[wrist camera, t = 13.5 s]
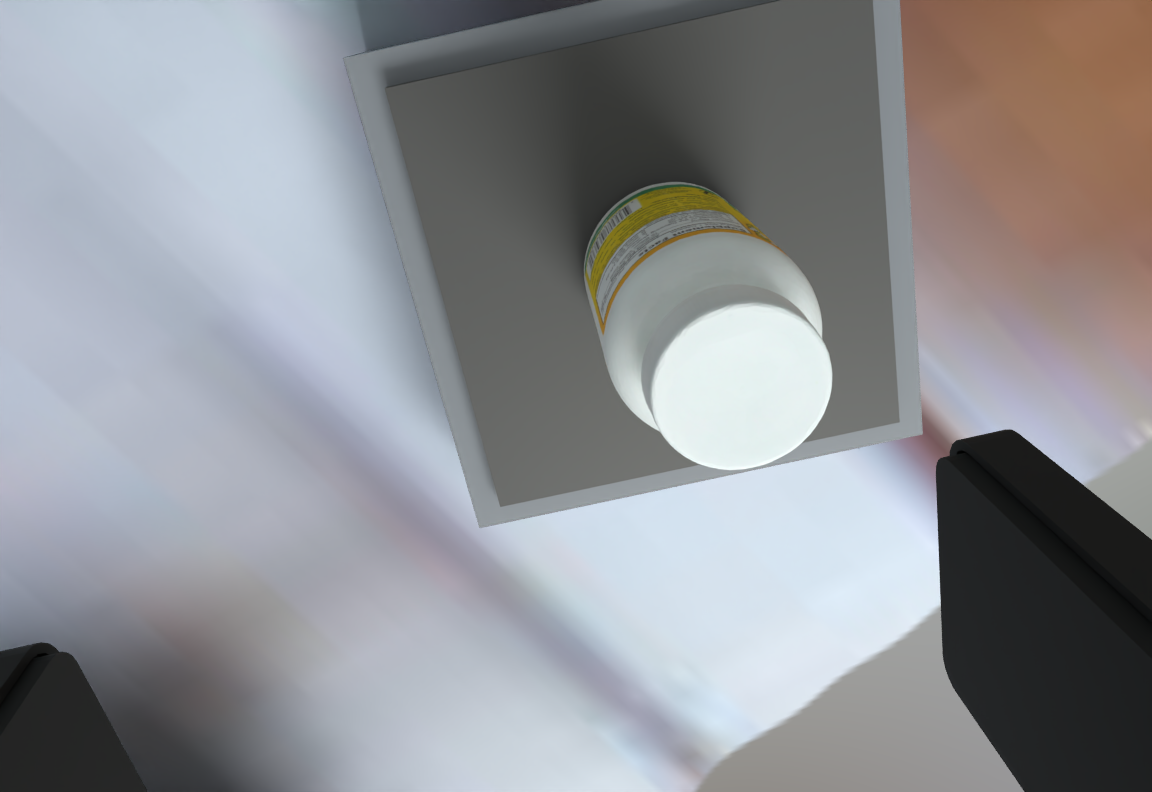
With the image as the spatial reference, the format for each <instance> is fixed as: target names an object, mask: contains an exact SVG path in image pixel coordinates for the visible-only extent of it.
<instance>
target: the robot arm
mask: <svg viewBox="0 0 1152 792" xmlns="http://www.w3.org/2000/svg"><path fill="white" fill-rule="evenodd" d="M936 487H937V513H938V540H939V567H940V594H941V620H942V646H943V660H944V664H945V668H946V672H947V674H948V677H949V679H950V681H951V684H952V686H953V688H954V689H955V691H956V693H957V694H958V696H959V697H960V698H961V700H962V701H963V703H964V704H965V705H966V707H967V708H968V710H969V712H970V713H971V714H972V716H973V717H974V719H975V720H976V722H977V723H978V725H979V726H980V728H981V729H982V730H983V732H984V733H985V735H986V736H987V738H988V739H989V741H990V742H991V744H992V745H993V746H994V748H995V749H996V751H997V752H998V754H999V755H1000V757H1001V758H1002V759H1003V761H1004V762H1005V764H1006V765H1007V767H1008V768H1009V770H1010V771H1011V772H1012V774H1013V775H1014V777H1015V778H1016V780H1017V781H1018V783H1019V784H1020V786H1021V787H1022V788H1023V790H1024V792H1152V540H1151V539H1150V538H1149V537H1147V536H1146V535H1145V534H1144V533H1143V532H1141V531H1140V530H1139V529H1138V528H1136V527H1135V526H1134V525H1133V524H1131V523H1130V522H1129V521H1127V520H1126V519H1125V518H1124V517H1123V516H1121V515H1120V514H1119V513H1117V512H1116V511H1115V510H1114V509H1112V508H1111V507H1110V506H1109V505H1107V504H1106V503H1105V502H1104V501H1102V500H1101V499H1100V498H1099V497H1097V496H1096V495H1095V494H1094V493H1092V492H1091V491H1090V490H1089V489H1087V488H1086V487H1085V486H1084V485H1082V484H1081V483H1080V482H1079V481H1077V480H1076V479H1075V478H1074V477H1072V476H1071V475H1070V474H1069V473H1067V472H1066V471H1065V470H1064V469H1062V468H1061V467H1060V466H1059V465H1057V464H1056V463H1055V462H1054V461H1052V460H1051V459H1050V458H1049V457H1047V456H1046V455H1045V454H1044V453H1042V452H1041V451H1040V450H1039V449H1037V448H1036V447H1035V446H1033V445H1032V444H1031V443H1030V442H1028V441H1027V440H1026V439H1025V438H1023V437H1022V436H1021V435H1020V434H1018V433H1017V432H1015V431H1013V430H1002V431H997V432H993V433H988V434H984V435H979V436H975V437H970V438H966V439H961V440H956V441H955V442H954V443H953V444H952V447H951V450H950V456H947V457H943V458H940V459H939V460H938V462H937V465H936ZM0 792H147V790H146V788H145V786H144V785H143V783H142V781H141V779H140V777H139V775H138V774H137V772H136V770H135V768H134V766H133V764H132V762H131V761H130V759H129V757H128V755H127V753H126V751H125V750H124V748H123V746H122V744H121V742H120V740H119V738H118V737H117V735H116V733H115V731H114V729H113V727H112V726H111V724H110V722H109V720H108V718H107V716H106V714H105V713H104V711H103V709H102V707H101V705H100V703H99V702H98V700H97V698H96V696H95V694H94V692H93V690H92V689H91V687H90V685H89V683H88V681H87V679H86V678H85V676H84V674H83V672H82V670H81V668H80V666H79V665H78V663H77V661H76V660H75V659H74V657H73V656H72V655H70V654H69V653H66V652H58V650H57V649H56V648H55V647H53V646H52V645H50V644H48V643H42V642H41V643H36V644H32V645H27V646H23V647H18V648H14V649H9V650H5V651H0Z"/></svg>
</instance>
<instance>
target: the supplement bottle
mask: <svg viewBox="0 0 1152 792" xmlns="http://www.w3.org/2000/svg"><path fill="white" fill-rule="evenodd" d="M584 281H585V287H586V292H587V295H588V299H589V303H590V306H591V310H592V313H593V317H594V320H595V324H596V328H597V331H598V334H599V338H600V342H601V346H602V349H603V353H604V358H605V362H606V365H607V369H608V372H609V375H610V377H611V380H612V382H613V385H614V387H615V389H616V390H617V392H618V394H619V395H620V397H621V399H622V400H623V401H624V403H625V404H626V405H627V406H628V407H629V409H630V410H631V411H632V412H633V413H634V414H635V415H636V416H637V417H639V418H640V419H641V420H642V421H643V422H645V423H646V424H648V425H649V426H651V427H652V428H654V429H656V430H658V431H660V432H661V434H662V436H663V437H664V438H665V439H666V440H667V442H668V443H669V444H670V445H671V446H672V447H673V448H674V449H675V450H676V451H678V452H679V453H680V454H682V455H683V456H684V457H686V458H688V459H690V460H692V461H693V462H696V463H698V464H701V465H704V466H707V467H711V468H717V469H724V470H740V469H748V468H753V467H757V466H761V465H764V464H767V463H770V462H772V461H774V460H776V459H778V458H780V457H782V456H784V455H786V454H788V453H789V452H791V451H792V450H794V449H795V448H796V447H798V446H799V445H800V444H801V443H802V442H803V441H804V440H805V439H806V438H807V437H808V436H809V435H810V434H811V433H812V431H813V430H814V429H815V427H816V426H817V424H818V423H819V421H820V420H821V418H822V416H823V414H824V412H825V410H826V407H827V404H828V401H829V398H830V394H831V389H832V366H831V361H830V356H829V352H828V350H827V348H826V345H825V343H824V342H823V340H822V319H821V312H820V308H819V304H818V301H817V298H816V296H815V293H814V291H813V288H812V287H811V285H810V283H809V282H808V280H807V278H806V277H805V275H804V274H803V273H802V271H801V270H800V269H799V267H798V266H797V265H796V264H795V263H794V262H793V261H792V260H791V259H790V258H789V257H788V256H787V255H786V254H785V253H784V252H783V251H782V250H781V249H780V248H779V247H778V246H777V245H775V244H774V243H773V242H772V241H771V240H770V239H769V238H768V237H766V236H765V235H764V234H763V233H762V232H761V231H760V230H759V229H758V228H757V227H756V226H755V225H753V224H752V223H751V222H750V221H749V220H748V219H747V218H746V217H745V216H744V215H742V214H741V213H740V212H739V211H738V210H737V209H736V208H735V207H734V206H732V205H731V204H729V203H728V202H727V201H726V200H725V199H723V198H722V197H721V196H719V195H718V194H717V193H715V192H713V191H711V190H709V189H707V188H705V187H702V186H699V185H695V184H691V183H685V182H666V183H660V184H654V185H650V186H647V187H644V188H641V189H639V190H637V191H635V192H633V193H631V194H629V195H628V196H626V197H625V198H623V199H622V200H620V201H619V202H618V203H617V204H615V205H614V206H613V207H612V208H611V209H610V210H609V211H608V212H607V213H606V214H605V216H604V217H603V218H602V219H601V221H600V222H599V224H598V225H597V227H596V229H595V230H594V232H593V234H592V236H591V239H590V241H589V244H588V247H587V251H586V256H585V262H584Z"/></svg>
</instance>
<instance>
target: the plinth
mask: <svg viewBox="0 0 1152 792" xmlns="http://www.w3.org/2000/svg"><path fill="white" fill-rule="evenodd" d="M343 59H344V63H345V66H346V70H347V73H348V77H349V80H350V84H351V87H352V90H353V94H354V97H355V101H356V104H357V108H358V111H359V115H360V118H361V121H362V125H363V128H364V132H365V135H366V139H367V142H368V146H369V149H370V152H371V156H372V159H373V163H374V166H375V170H376V173H377V177H378V180H379V183H380V187H381V190H382V194H383V197H384V201H385V204H386V208H387V211H388V214H389V218H390V221H391V225H392V228H393V232H394V235H395V239H396V242H397V245H398V249H399V252H400V256H401V259H402V263H403V266H404V270H405V273H406V277H407V280H408V283H409V287H410V290H411V294H412V297H413V301H414V304H415V308H416V311H417V314H418V318H419V321H420V325H421V328H422V332H423V335H424V339H425V342H426V345H427V349H428V352H429V356H430V359H431V363H432V366H433V370H434V373H435V376H436V380H437V383H438V387H439V390H440V394H441V397H442V401H443V404H444V407H445V411H446V414H447V418H448V421H449V425H450V428H451V432H452V435H453V438H454V442H455V445H456V449H457V452H458V456H459V459H460V463H461V466H462V469H463V473H464V476H465V480H466V483H467V487H468V490H469V494H470V497H471V501H472V504H473V507H474V511H475V514H476V518H477V521H478V525H479V528H483V527H488V526H492V525H497V524H502V523H506V522H511V521H516V520H521V519H525V518H530V517H535V516H539V515H544V514H549V513H554V512H558V511H563V510H568V509H572V508H577V507H582V506H587V505H591V504H596V503H601V502H605V501H610V500H615V499H620V498H624V497H629V496H634V495H639V494H643V493H648V492H653V491H657V490H662V489H667V488H672V487H676V486H681V485H686V484H690V483H695V482H700V481H705V480H709V479H714V478H719V477H723V476H728V475H733V474H738V473H742V472H747V471H752V470H756V469H761V468H766V467H771V466H775V465H780V464H785V463H789V462H794V461H799V460H804V459H808V458H813V457H818V456H822V455H827V454H832V453H837V452H841V451H846V450H851V449H855V448H860V447H865V446H870V445H874V444H879V443H884V442H888V441H893V440H898V439H903V438H907V437H912V436H917V435H922V434H923V432H922V413H921V395H920V376H919V357H918V338H917V319H916V300H915V281H914V262H913V243H912V224H911V205H910V186H909V167H908V148H907V129H906V110H905V91H904V72H903V53H902V34H901V15H900V0H596V1H591V2H587V3H582V4H578V5H573V6H569V7H564V8H560V9H555V10H551V11H547V12H542V13H538V14H533V15H529V16H524V17H520V18H515V19H511V20H506V21H502V22H497V23H493V24H488V25H484V26H479V27H475V28H470V29H466V30H461V31H457V32H452V33H448V34H443V35H439V36H435V37H430V38H426V39H421V40H417V41H412V42H408V43H403V44H399V45H394V46H390V47H385V48H381V49H376V50H372V51H367V52H363V53H360V54H356V55H353V56H349V57H346V58H343ZM666 182H685V183H691V184H695V185H699V186H702V187H705V188H707V189H709V190H711V191H713V192H715V193H717V194H718V195H719V196H721V197H722V198H723V199H725V200H726V201H727V202H728V203H729V204H731V205H732V206H734V207H735V208H736V209H737V210H738V211H739V212H740V213H741V214H742V215H744V216H745V217H746V218H747V219H748V220H749V221H750V222H751V223H752V224H753V225H755V226H756V227H757V228H758V229H759V230H760V231H761V232H762V233H763V234H764V235H765V236H766V237H768V238H769V239H770V240H771V241H772V242H773V243H774V244H775V245H777V246H778V247H779V248H780V249H781V250H782V251H783V252H784V253H785V254H786V255H787V256H788V257H789V258H790V259H791V260H792V261H793V262H794V263H795V264H796V265H797V266H798V267H799V269H800V270H801V271H802V273H803V274H804V275H805V277H806V278H807V280H808V282H809V283H810V285H811V287H812V288H813V291H814V293H815V296H816V298H817V301H818V304H819V308H820V312H821V319H822V340H823V342H824V343H825V345H826V348H827V350H828V352H829V356H830V361H831V366H832V389H831V394H830V398H829V401H828V404H827V407H826V410H825V412H824V414H823V416H822V418H821V420H820V421H819V423H818V424H817V426H816V427H815V429H814V430H813V431H812V433H811V434H810V435H809V436H808V437H807V438H806V439H805V440H804V441H803V442H802V443H801V444H800V445H799V446H798V447H796V448H795V449H794V450H792V451H791V452H789V453H788V454H786V455H784V456H782V457H780V458H778V459H776V460H774V461H772V462H770V463H767V464H764V465H761V466H757V467H753V468H748V469H740V470H724V469H717V468H711V467H707V466H704V465H701V464H698V463H696V462H693V461H692V460H690V459H688V458H686V457H684V456H683V455H682V454H680V453H679V452H678V451H676V450H675V449H674V448H673V447H672V446H671V445H670V444H669V443H668V442H667V440H666V439H665V438H664V437H663V436H662V434H661V432H660V431H658V430H656V429H654V428H652V427H651V426H649V425H648V424H646V423H645V422H643V421H642V420H641V419H640V418H639V417H637V416H636V415H635V414H634V413H633V412H632V411H631V410H630V409H629V407H628V406H627V405H626V404H625V403H624V401H623V400H622V399H621V397H620V395H619V394H618V392H617V390H616V389H615V387H614V385H613V382H612V380H611V377H610V375H609V372H608V369H607V365H606V362H605V358H604V353H603V349H602V346H601V342H600V338H599V334H598V331H597V328H596V324H595V320H594V317H593V313H592V310H591V306H590V303H589V299H588V295H587V292H586V287H585V281H584V262H585V256H586V251H587V247H588V244H589V241H590V239H591V236H592V234H593V232H594V230H595V229H596V227H597V225H598V224H599V222H600V221H601V219H602V218H603V217H604V216H605V214H606V213H607V212H608V211H609V210H610V209H611V208H612V207H613V206H614V205H615V204H617V203H618V202H619V201H620V200H622V199H623V198H625V197H626V196H628V195H629V194H631V193H633V192H635V191H637V190H639V189H641V188H644V187H647V186H650V185H654V184H660V183H666Z"/></svg>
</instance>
